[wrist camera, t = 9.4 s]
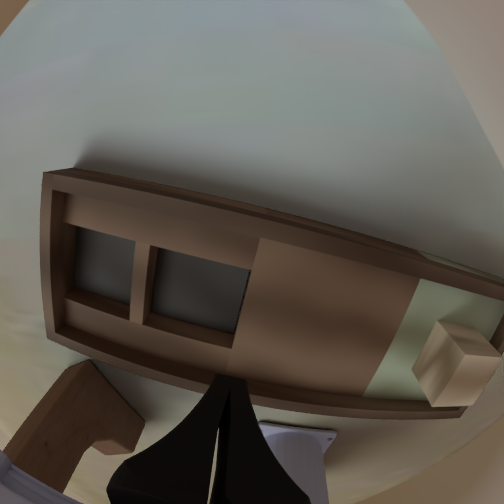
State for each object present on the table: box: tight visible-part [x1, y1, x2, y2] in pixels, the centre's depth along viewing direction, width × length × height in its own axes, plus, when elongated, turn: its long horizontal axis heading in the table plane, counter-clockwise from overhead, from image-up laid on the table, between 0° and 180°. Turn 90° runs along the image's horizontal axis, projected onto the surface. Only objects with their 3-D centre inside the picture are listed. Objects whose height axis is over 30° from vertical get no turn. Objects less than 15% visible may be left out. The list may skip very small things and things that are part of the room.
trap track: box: [40, 168, 504, 420], centre depth 20 cm, size 13×37×4 cm, turn 77°
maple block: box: [411, 321, 503, 407], centre depth 18 cm, size 4×4×4 cm
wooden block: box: [3, 360, 145, 494], centre depth 17 cm, size 9×4×18 cm, turn 29°
